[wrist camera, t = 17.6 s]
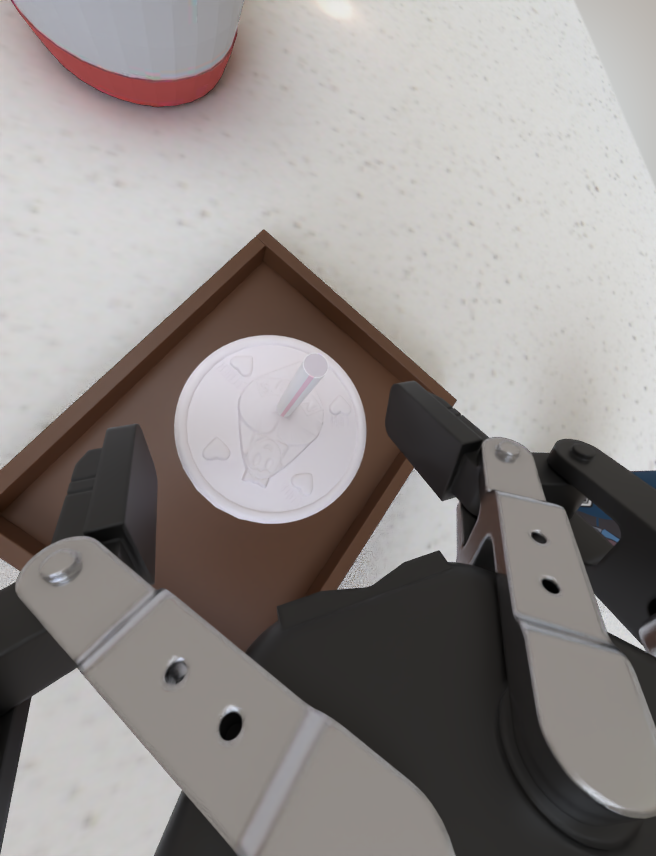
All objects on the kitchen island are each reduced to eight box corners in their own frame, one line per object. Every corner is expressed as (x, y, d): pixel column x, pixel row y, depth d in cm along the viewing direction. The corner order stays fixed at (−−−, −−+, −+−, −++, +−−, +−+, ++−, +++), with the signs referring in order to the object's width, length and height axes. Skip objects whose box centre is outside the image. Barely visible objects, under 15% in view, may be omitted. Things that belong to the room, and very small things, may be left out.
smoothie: (322, 424, 22) (469, 326, 8) (286, 522, 20) (399, 594, 7) (225, 383, 20) (218, 193, 7) (179, 485, 19) (58, 484, 6)
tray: (247, 697, 19) (250, 726, 16) (-18, 516, 17) (-57, 521, 15) (436, 407, 25) (457, 400, 23) (260, 253, 23) (263, 228, 21)
